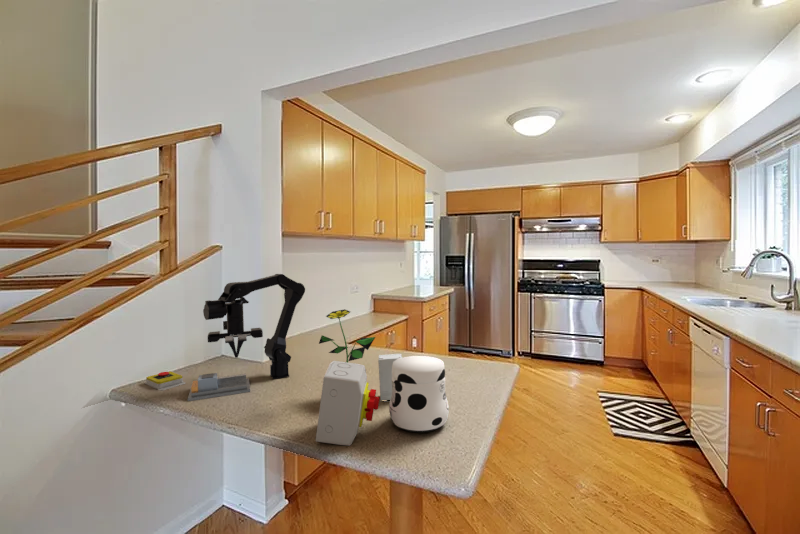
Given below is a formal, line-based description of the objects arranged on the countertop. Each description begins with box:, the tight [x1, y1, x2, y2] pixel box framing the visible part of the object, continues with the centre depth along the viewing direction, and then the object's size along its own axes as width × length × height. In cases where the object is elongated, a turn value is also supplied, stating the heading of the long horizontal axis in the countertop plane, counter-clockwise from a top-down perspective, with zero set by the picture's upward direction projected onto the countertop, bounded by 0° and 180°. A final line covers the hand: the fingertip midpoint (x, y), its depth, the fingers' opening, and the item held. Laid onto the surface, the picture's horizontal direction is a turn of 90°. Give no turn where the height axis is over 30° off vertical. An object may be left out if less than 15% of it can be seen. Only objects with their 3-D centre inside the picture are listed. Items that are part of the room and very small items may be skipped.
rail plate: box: [187, 373, 251, 402], centre depth 141 cm, size 20×13×4 cm, turn 114°
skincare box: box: [377, 353, 403, 401], centre depth 130 cm, size 8×6×15 cm
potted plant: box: [318, 309, 376, 371], centre depth 129 cm, size 18×19×30 cm
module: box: [197, 372, 218, 392], centre depth 139 cm, size 6×6×5 cm
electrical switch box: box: [315, 360, 381, 446], centre depth 106 cm, size 15×15×20 cm
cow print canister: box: [388, 355, 450, 433], centre depth 111 cm, size 17×17×18 cm
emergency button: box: [144, 370, 186, 391], centre depth 150 cm, size 9×4×15 cm
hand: (236, 357), depth 143 cm, fingers closed
